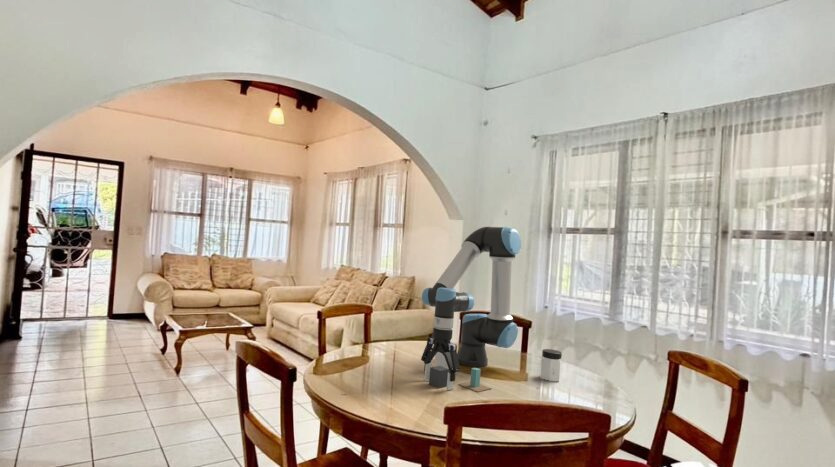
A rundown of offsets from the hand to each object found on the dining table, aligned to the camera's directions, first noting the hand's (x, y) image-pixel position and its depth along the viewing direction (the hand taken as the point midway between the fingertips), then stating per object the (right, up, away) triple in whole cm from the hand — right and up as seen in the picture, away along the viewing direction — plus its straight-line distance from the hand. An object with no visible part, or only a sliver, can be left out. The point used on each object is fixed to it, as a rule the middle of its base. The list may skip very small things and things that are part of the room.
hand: (438, 384), depth 172 cm
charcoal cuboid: (0, 0, 0) cm, 0 cm away
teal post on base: (+14, -2, +2) cm, 15 cm away
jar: (+50, -6, +24) cm, 55 cm away
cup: (+3, -1, +20) cm, 21 cm away
